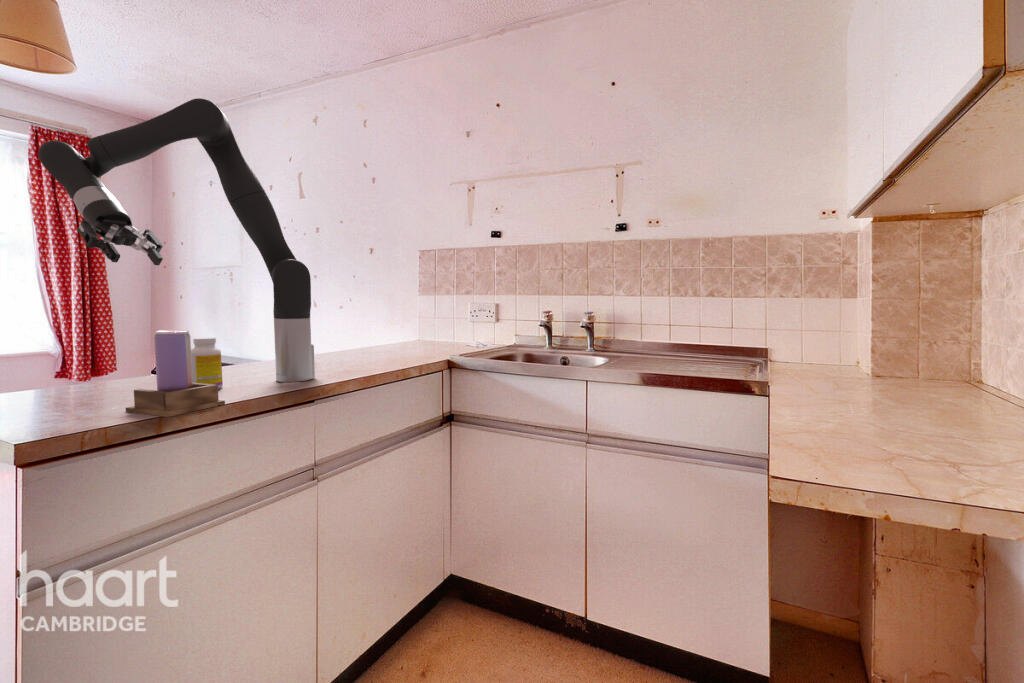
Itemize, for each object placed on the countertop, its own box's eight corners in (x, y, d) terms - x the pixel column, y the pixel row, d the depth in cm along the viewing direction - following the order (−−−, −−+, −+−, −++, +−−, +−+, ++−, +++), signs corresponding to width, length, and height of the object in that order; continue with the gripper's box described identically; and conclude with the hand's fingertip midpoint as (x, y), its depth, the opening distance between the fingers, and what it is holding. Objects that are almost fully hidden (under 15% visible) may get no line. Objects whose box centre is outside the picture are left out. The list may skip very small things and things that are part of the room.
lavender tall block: (175, 407, 95) (171, 332, 93) (150, 406, 96) (146, 331, 94) (200, 401, 100) (197, 330, 99) (176, 400, 102) (172, 330, 100)
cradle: (185, 400, 106) (184, 380, 105) (224, 404, 102) (223, 384, 101) (125, 411, 95) (124, 390, 94) (167, 416, 90) (165, 394, 90)
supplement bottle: (228, 388, 120) (226, 337, 119) (202, 392, 114) (199, 339, 113) (211, 386, 123) (209, 336, 122) (185, 390, 117) (182, 338, 116)
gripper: (70, 191, 100) (108, 244, 97) (143, 204, 113) (179, 251, 110) (57, 218, 102) (94, 271, 99) (130, 228, 116) (164, 275, 113)
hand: (138, 261), depth 105 cm, fingers open, 8 cm apart
